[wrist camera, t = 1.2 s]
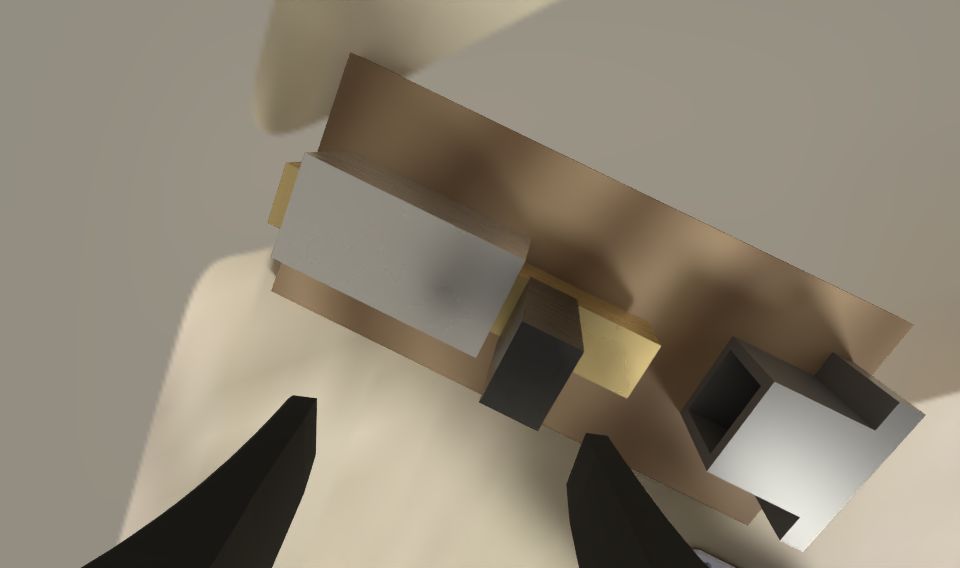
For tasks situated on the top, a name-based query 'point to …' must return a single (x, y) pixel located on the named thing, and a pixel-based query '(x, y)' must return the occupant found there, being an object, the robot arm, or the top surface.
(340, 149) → the base board
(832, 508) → the socket
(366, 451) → the top surface
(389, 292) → the sleeve
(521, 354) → the inner sliding bolt
